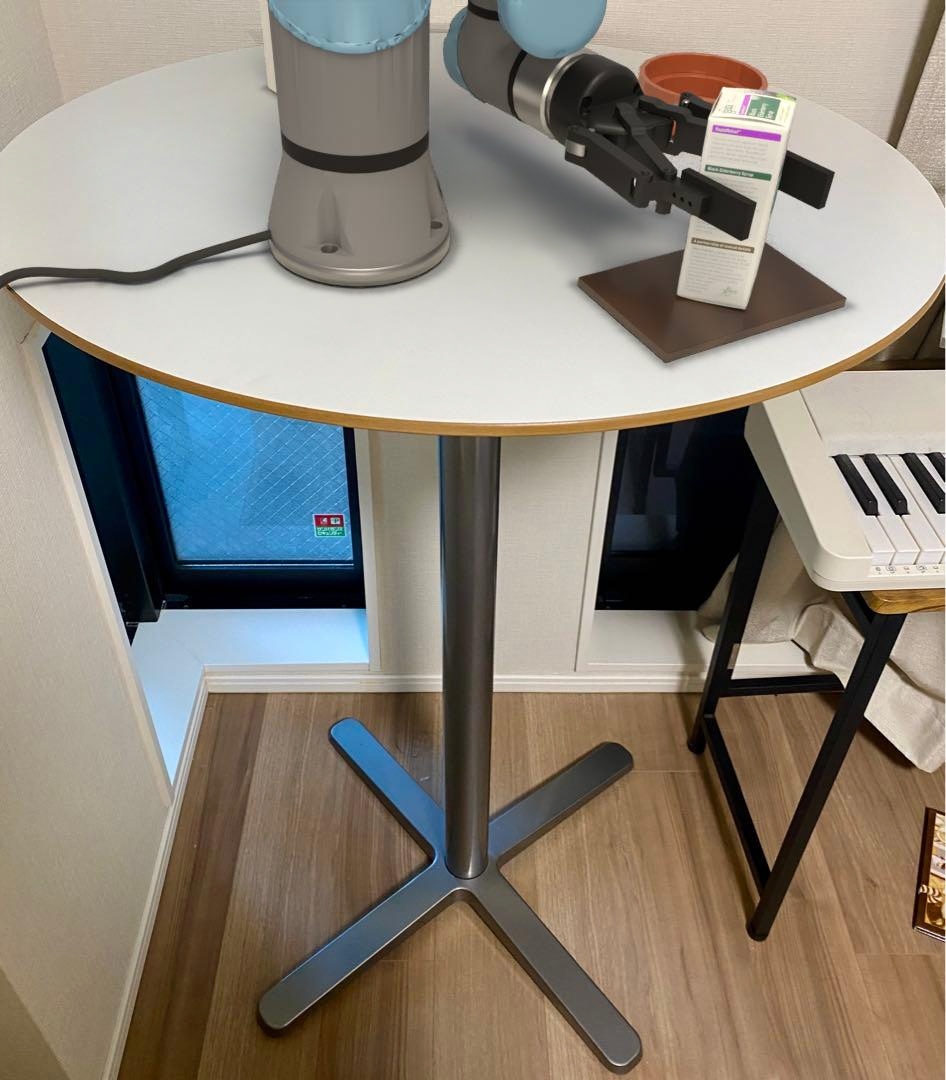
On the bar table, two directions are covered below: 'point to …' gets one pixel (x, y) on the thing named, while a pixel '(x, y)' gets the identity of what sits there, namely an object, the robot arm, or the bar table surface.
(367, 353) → the bar table surface
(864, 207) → the bar table surface
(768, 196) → the syrup box
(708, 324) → the mat
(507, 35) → the robot arm
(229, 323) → the bar table surface
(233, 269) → the bar table surface
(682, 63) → the bowl
